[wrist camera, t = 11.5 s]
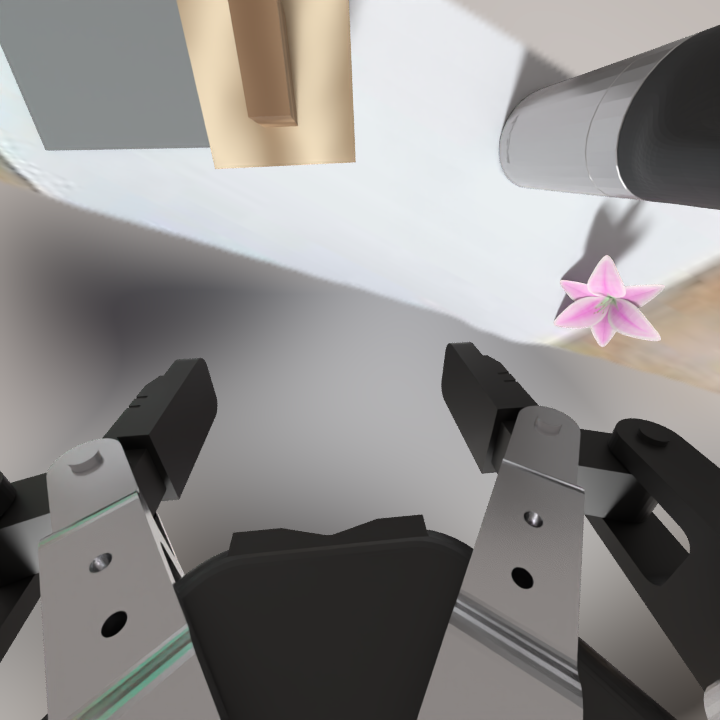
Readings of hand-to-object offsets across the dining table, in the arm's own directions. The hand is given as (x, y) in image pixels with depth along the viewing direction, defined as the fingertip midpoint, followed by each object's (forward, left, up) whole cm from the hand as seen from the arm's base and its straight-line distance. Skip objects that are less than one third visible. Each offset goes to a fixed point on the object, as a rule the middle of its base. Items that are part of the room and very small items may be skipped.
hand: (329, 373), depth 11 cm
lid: (+3, -12, -22) cm, 25 cm away
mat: (+18, -15, -32) cm, 40 cm away
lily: (-35, +10, -32) cm, 49 cm away
